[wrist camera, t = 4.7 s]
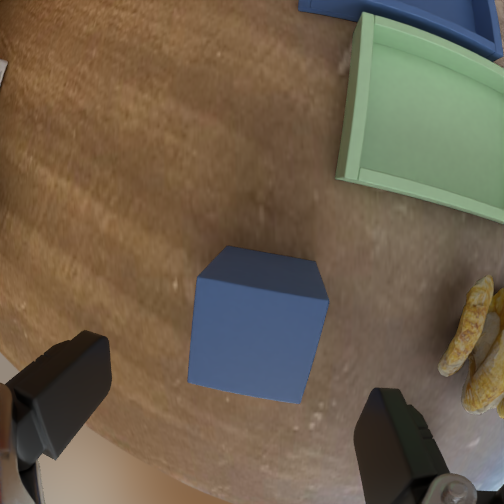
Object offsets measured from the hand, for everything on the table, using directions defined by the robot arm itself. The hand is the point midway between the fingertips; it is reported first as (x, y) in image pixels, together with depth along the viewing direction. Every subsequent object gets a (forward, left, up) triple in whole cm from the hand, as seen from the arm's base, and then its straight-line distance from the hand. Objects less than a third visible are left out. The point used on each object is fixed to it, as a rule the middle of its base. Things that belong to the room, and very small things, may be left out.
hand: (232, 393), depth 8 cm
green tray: (-8, -11, -8) cm, 16 cm away
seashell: (-17, 0, -8) cm, 19 cm away
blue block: (0, 0, -8) cm, 8 cm away
